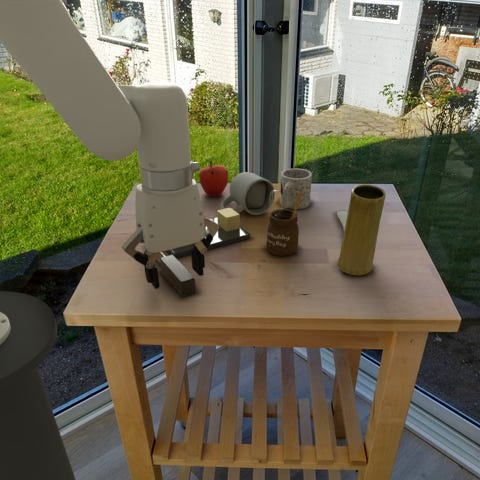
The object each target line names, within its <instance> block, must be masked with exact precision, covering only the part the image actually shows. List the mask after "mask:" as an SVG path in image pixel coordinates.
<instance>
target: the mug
mask: <svg viewBox="0 0 480 480" xmlns="http://www.w3.org/2000/svg"><path fill="white" fill-rule="evenodd" d="M280 173H281V174H280V192H281V193H280V192H279V193H280V194H279V197H280V199H279V205H280V206H281V207H282V206H283V209H290V210H294V208H293V207H294V204H295V201H296V198H297V196H298V193H300V192H302V191H303V194H302V197H301V201H300V204H299V206H298V208H297V209H296V210H300V209H305V208H307V207H309V206H310V204H311V192H312V178H313V173H312V172H311V171H310V170H308V169H305V168H298V167H297V168H287V169H284V170H282V171H281V172H280ZM281 194H282V195H281ZM280 195H281V196H280ZM281 199H283V201H281Z"/></svg>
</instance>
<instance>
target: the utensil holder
mask: <svg viewBox="0 0 480 480" xmlns="http://www.w3.org/2000/svg"><path fill="white" fill-rule="evenodd" d="M274 191H275V195H274V198H276V197H278V195H279V198H278V199H279V200H280V196H281V195H282V194H281V195H280V193H281V192H280V191H279V190H277V189H274ZM271 193H272V192H271ZM277 193H278V195H277ZM302 194H303V191H302V192H300V193H298V196H297V198H296V201H295V204H294V207H293V208H294V209H288V208H284V207H283V206H282V205H281V208H278V207H276V208H275V206H273V204H272V203H271V204H270V206H271V205H272V206H271V207H270V208H271V212H270V213H269V216H268V223H267V226H266V250H267V252H269V253H270V254H272V255H275V256H282V257H284V256H285V257H286V256H291V255H293V254H295V253H296V252H297V250H298V248H299V247H298V246H299V239H300V236H299V235H300V227H299V216H298V213H297V210H298V209H297V208H298V206H299V204H300V201H301V197H302ZM272 196H273V195H272ZM270 198H271V195H270ZM278 199H276V202H277V203H279V200H278ZM272 201H273V199H272ZM281 201H283V199H281ZM273 202H274V201H273ZM276 202H274V204H275V205H277V204H276Z"/></svg>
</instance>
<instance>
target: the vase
mask: <svg viewBox="0 0 480 480" xmlns="http://www.w3.org/2000/svg"><path fill="white" fill-rule="evenodd" d="M386 195H387V193H386V191H385V190H384V189H383V188H381V187H380V186H377V185H373V184H359V185H355V186H354V187H353V188H352V189H351V193H350V201H349V206H348V215H347V220H346V225H345V231H344V230H343V237H342V241H341V247H340V253H339V258H338V259H337V266H338V268H339V270H340V271H341V272H343V273H345V274H346V275H351V276H356V277H357V276H364V275H367V274H369V273H370V272H371V271H372V270H373V267H374V259H375V252H376V246H377V241H378V237H379V236H378V235H379V230H380V223H381V218H382V215H383V209H384V204H385V200H386Z"/></svg>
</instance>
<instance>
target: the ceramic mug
mask: <svg viewBox="0 0 480 480" xmlns="http://www.w3.org/2000/svg"><path fill="white" fill-rule="evenodd" d="M274 190H275V187H274V185H273V183H272V182H271V181H270V180H268V179H267V178H264V177H262V176H259V175H257V174H255V173H253V172H248V171H243V172H239V173H238V174H236V175H235V176H234V177H233V179H232V180H231V182H230V184H229V195H228V196H227V197H226V198H224V200H222V201H221V204H220V208H221V210H222V209H226V208H228V206H229V205H230V204H231V203H232V202H234V203H236V206H234V207H230V208H231V209H233V210H234V211H236V212H237V213H238V214H240V213H242V212H243V211H245V212H246V213H248V214H250V215H252V216H260V215H263V214H265V213H266V212H267V211H269V210H270V208H272V207H273V205H274V202H275V197H274V195H275V196H276V192H275V191H274ZM271 192H272V193H271ZM270 195H271V198H270ZM272 195H273V196H272ZM272 199H273V201H272ZM271 203H272V205H271V206H270V204H271Z"/></svg>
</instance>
